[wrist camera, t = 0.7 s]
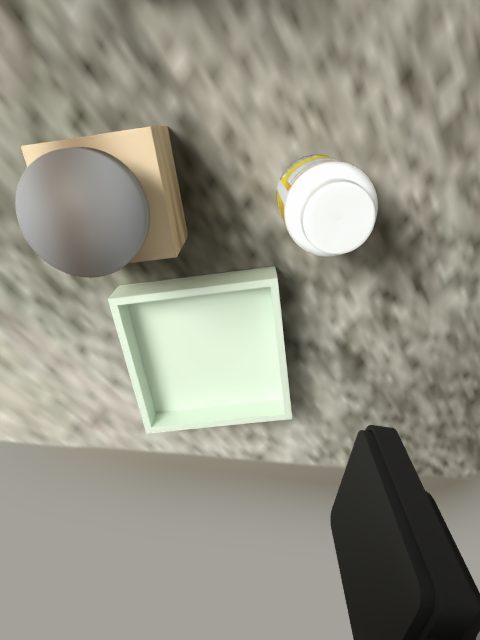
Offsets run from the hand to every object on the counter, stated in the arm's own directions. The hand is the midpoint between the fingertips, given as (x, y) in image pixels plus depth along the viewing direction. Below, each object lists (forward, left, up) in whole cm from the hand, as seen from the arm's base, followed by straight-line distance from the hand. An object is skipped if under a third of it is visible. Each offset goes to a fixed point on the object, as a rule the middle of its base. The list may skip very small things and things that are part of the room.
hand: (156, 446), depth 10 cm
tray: (+3, +11, -26) cm, 28 cm away
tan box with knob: (+7, -3, -26) cm, 27 cm away
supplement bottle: (-7, -1, -26) cm, 27 cm away
